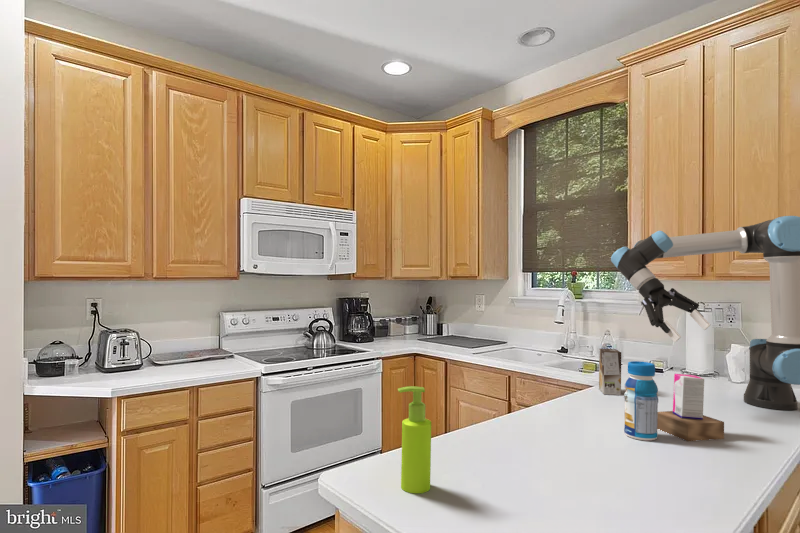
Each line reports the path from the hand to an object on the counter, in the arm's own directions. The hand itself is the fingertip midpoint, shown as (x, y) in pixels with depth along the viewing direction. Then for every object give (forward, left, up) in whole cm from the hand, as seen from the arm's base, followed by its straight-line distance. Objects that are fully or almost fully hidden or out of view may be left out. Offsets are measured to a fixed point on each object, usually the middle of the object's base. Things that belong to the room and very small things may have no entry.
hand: (693, 333), depth 155 cm
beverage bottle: (+26, +23, -26) cm, 44 cm away
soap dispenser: (+87, +62, -26) cm, 110 cm away
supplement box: (+11, +18, -22) cm, 31 cm away
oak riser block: (+11, +19, -27) cm, 34 cm away
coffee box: (+15, -30, -26) cm, 42 cm away
